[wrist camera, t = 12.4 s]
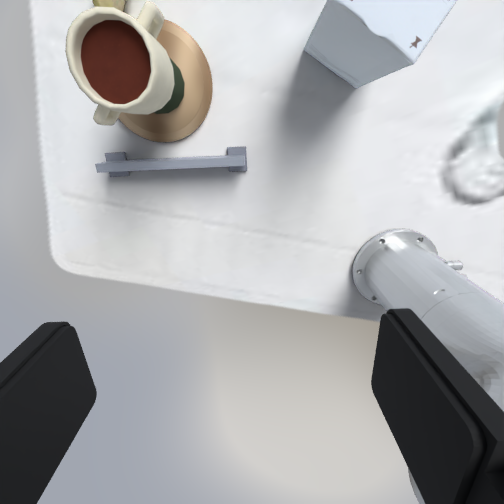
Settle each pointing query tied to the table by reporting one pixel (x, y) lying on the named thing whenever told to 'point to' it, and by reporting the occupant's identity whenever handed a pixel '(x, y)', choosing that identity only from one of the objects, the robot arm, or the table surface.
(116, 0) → the fruit
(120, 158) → the grey cabinet handle
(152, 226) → the table surface
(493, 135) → the table surface
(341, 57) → the skincare box
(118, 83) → the character mug
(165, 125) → the coaster
